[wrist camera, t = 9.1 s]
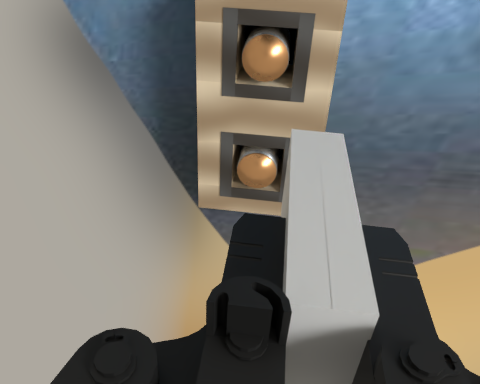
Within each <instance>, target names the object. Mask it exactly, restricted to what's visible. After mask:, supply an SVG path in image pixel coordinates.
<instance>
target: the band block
mask: <svg viewBox="0 0 480 384" xmlns="http://www.w3.org/2000/svg"><path fill="white" fill-rule="evenodd" d="M346 6H347V0H195V19H196V78H197V138H198V198H199V207H202V208H212V209H221V210H231V211H241V212H250V213H260V214H270V215H279V216H281V208H282V199H283V191H284V183H285V176H286V168H287V161H288V153H289V146H290V138H291V130H292V129H297V130H308V131H318V132H325V129H326V123H327V117H328V111H329V105H330V99H331V94H332V88H333V82H334V76H335V70H336V64H337V59H338V53H339V47H340V41H341V35H342V29H343V24H344V18H345V12H346ZM246 25H255V26H269V27H283V28H297V30H296V39H295V48H294V57H293V65H291V64H288V66H287V69H286V70H285V72H284V73H283V74H282V75H281V76H280V77H279V78H277V79H275V80H273V81H270V82H261V81H257V80H255V79H253V78H252V77H250V76H249V75H248V74H247V72H246V71H245V69H244V67H243V64H242V52H243V49H244V46H245V27H246ZM240 145H245V146H256V147H267V148H278V149H283V155H282V159H278V167H277V175H276V177H275V179H274V181H273V182H272V183H271V184H270V185H268V186H266V187H264V188H252V187H249V186H247V185H245V184H244V183H243V182H242V181H241V180H240V179H239V177H238V174H237V165H238V161H239V156H240Z"/></svg>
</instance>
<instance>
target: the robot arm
mask: <svg viewBox="0 0 480 384" xmlns="http://www.w3.org/2000/svg"><path fill="white" fill-rule="evenodd" d="M417 276H418V275H417V272H416V269H415V266H414V264H413V260H412V257H411V253H410V250H409V247H408V244H407V243H406V242H405V241H404V240H403V239H402V237H401V236H400V235H399V234H398V233H397V232H396V231H395V229H393V228H384V227H375V226H366V225H361V220H360V215H359V210H358V205H357V200H356V195H355V190H354V185H353V180H352V175H351V170H350V165H349V160H348V155H347V150H346V145H345V140H344V135H343V134H338V133H328V132H318V131H308V130H297V129H292V130H291V138H290V146H289V153H288V161H287V168H286V176H285V183H284V191H283V199H282V208H281V217H274V216H265V215H256V214H247V213H245V214H244V215H243V216H242V217H241V218H240V219H239V220H238V221H237V222H236V224H235V225H234V226H233V231H232V236H231V240H230V245H229V250H228V256H227V259H226V264H225V269H224V273H223V278H222V282H221V283H220V284H219V285H218V286H216V287H215V288H214V289H213V290H212V292H211V294H210V296H209V298H208V300H207V303H206V304H207V305H206V325H205V326H204V327H203V328H201V329H200V330H199V331H197V332H195V333H193V334H191V335H189V336H186V337H183V338H179V339H174V340H168V341H162V342H156V343H152V342H151V340H150V339H149V337H147V336H145V335H143V334H142V333H141V332H139V331H137V330H132V329H126V328H118V329H112V330H106V331H104V332H102V333H100V334H98V335H96V336H94V337H92V338H90V339H89V340H88V341H87V342H86V343H84V344H83V345H82V346H81V347H80V348H79V349H78V350H77V351H76V352H75V354H74V355H73V356H72V358H71V359H70V360H69V361H68V362H67V364H66V365H65V366H64V367H63V369H62V370H61V371H60V372H59V374H58V375H57V376H56V377H55V379H54V380H53V381H52V382H51V384H480V376H478V375H476V374H474V373H472V372H470V371H469V370H467V369H466V368H465V367H464V365H463V363H462V362H461V360H460V358H459V356H458V355H457V354H456V353H455V352H454V351H453V350H452V349H451V348H450V347H449V346H448V345H447V344H446V343H445V342H443V341H441V340H439V338H438V335H437V333H436V330H435V327H434V324H433V321H432V318H431V315H430V312H429V309H428V306H427V303H426V299H425V297H424V293H423V290H422V287H421V284H420V281H419V279H417Z"/></svg>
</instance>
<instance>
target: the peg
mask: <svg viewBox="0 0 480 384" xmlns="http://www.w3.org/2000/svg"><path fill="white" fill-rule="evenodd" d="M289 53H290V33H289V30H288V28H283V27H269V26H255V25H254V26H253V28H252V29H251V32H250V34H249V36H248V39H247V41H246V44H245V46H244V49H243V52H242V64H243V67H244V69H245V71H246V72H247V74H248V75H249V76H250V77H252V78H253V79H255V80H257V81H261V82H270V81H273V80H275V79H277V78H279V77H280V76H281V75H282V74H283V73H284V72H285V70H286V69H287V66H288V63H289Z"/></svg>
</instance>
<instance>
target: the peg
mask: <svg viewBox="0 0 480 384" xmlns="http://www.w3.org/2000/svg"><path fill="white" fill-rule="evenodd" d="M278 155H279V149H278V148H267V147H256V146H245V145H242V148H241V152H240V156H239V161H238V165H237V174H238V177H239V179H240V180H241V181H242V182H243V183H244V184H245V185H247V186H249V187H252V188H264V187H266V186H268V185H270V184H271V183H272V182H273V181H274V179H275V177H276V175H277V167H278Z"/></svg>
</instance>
